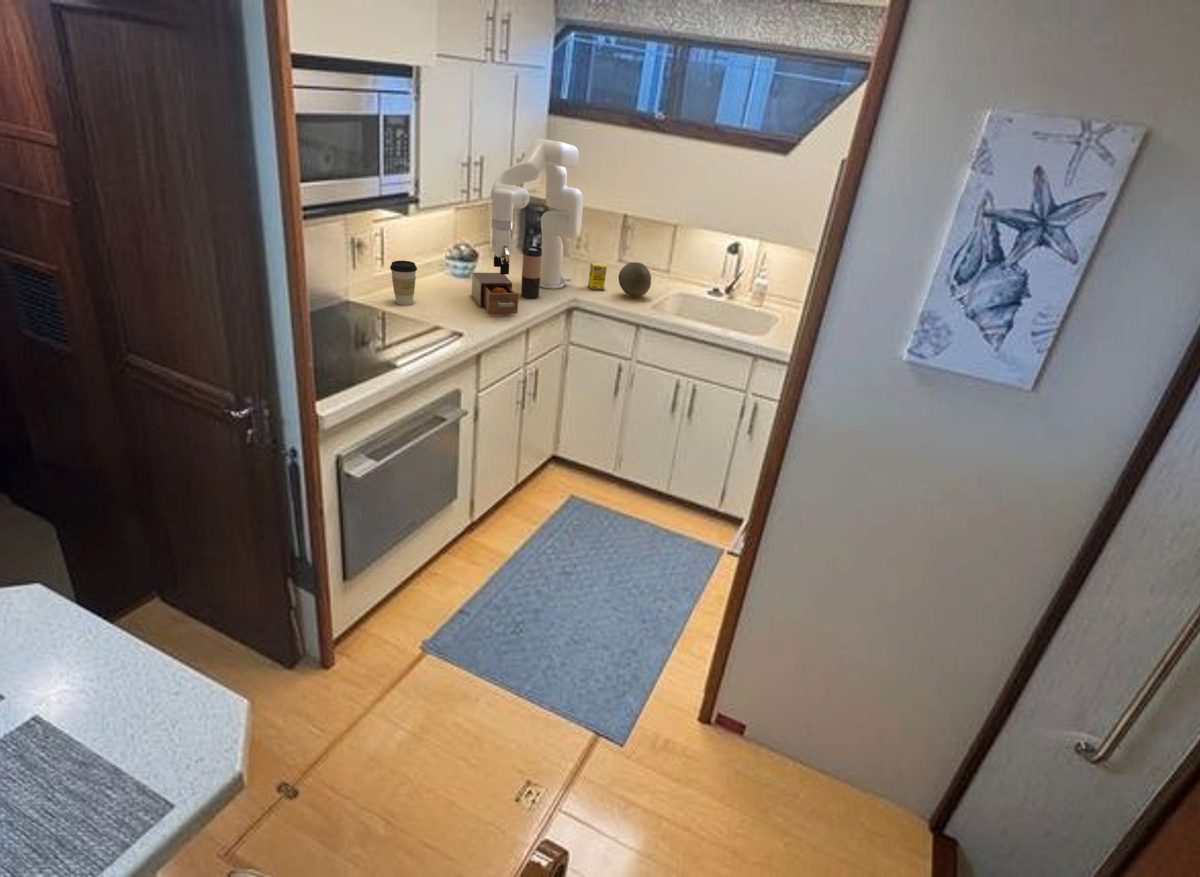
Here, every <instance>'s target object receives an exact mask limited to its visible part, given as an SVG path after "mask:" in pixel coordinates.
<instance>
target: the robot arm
mask: <svg viewBox="0 0 1200 877" xmlns="http://www.w3.org/2000/svg"><path fill="white" fill-rule="evenodd" d="M579 159H580V152H579V149H578V148H577V146H575V145H573V144H569V143H567V142H562V141H557V140H553V139H545V138H537V139H535V140H533V141H532V143H531V144H530V146H529V147H528V149H527V151H526V152H525V154H524V156H523V157H522V158H521V161H520V162H519V163H517V164H514V165H512V166H511V167H509V168H507V169H505V170H503V171H502V172H501V173H500V174H498V176H497V178H496V180H495V181H494V182H493V185H492V187H491V189H490V199H491V201H492V217H491V218H492V219H491V220H492V221H491V228H492V230H493V231H492V238H491V252H492V253H493V267H494V268H499V273H500V274H501V275H509V274H510V257H511V249H512V248H511V247H512V246H511V244H512V242H511V240H512V238H511V237H512V236H511V234H512V233H511V231H513V230H514V210H515V209H516V210H517V209H518V210H519V209H520V210H521V209H524V208H526V207H527V206H528V205H529V202H530V198H531V197H530V196H531V195H530V193H529V191H528V190H527V189H526V188H524V187H522V186H517V185H520V184H524V183H525V184H526V183H529V182H533V181H536V180H537V179H539V177H540V175H541V174H542V172H543V170H545V172H546V173H545V174H546V180H545V181H546V182H545V204H546V206H547V207H549V208H551V209H555V210H560V211H564V212H560V211H554V210H548V211H545V212H543V214H542V215H541V218H540V229H541V245H540V246H541V247H540V248H541V249H542V258H541V275H540V286H539V288H544V289H550V290H551V289H552V290H554V289H562V288H563V287H565V286H564V285H565V282H569V283H570V282H571V281H572V277H571V276H565V275H563V274H562V270H563V269H562V268H563V267H562V266H563V257H564V255H563V254H564V243H563V240H562V238H561V237H563V238H568V239H577V238H578V237H579V236H580V234H581V231H582V226H583V225H582V224H583V210H584V195H583V192H582V191H581V190H580V189H579V188H576V187H571V186H568V171H567V168H568V169H572V168H574V167H576V166H577V164H578V162H579ZM565 211H566V212H568V213H565Z"/></svg>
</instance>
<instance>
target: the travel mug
mask: <svg viewBox="0 0 1200 877" xmlns="http://www.w3.org/2000/svg"><path fill="white" fill-rule="evenodd" d="M522 251H523V253H522V266H521V267H522V268H521V288H520V289H521V290H520V291H521V292H520V293H521V297H522V298H524V299H527V300H528V299H529V300H536V299H538V298H539V294H540V275H541V258H542V249H541V247H539V246H533V245H532V246H529V247H528V246H524V247H523V250H522Z"/></svg>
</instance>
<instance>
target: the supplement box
mask: <svg viewBox="0 0 1200 877" xmlns="http://www.w3.org/2000/svg"><path fill="white" fill-rule="evenodd" d="M606 275H607V266H606V265H605V263H603V262H600V263H599V262H590V264H589V272H588V283H587V287H588V288H589V289H590V290H591V291H602V292H604V291H605V284H606V277H607V276H606Z"/></svg>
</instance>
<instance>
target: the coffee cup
mask: <svg viewBox="0 0 1200 877" xmlns="http://www.w3.org/2000/svg"><path fill="white" fill-rule="evenodd" d="M389 269H390V270H391V281H392V286H393V293H394V298H395V303H396V304H398V305H400V306H411V305H413V304H414V294H415V289H416V288H415V287H416V275H417V274H416V272H417V270H418V267H417V265H416V263H415V262H414V261H411V260H395V261H392V262H391V264H390V266H389Z"/></svg>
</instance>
